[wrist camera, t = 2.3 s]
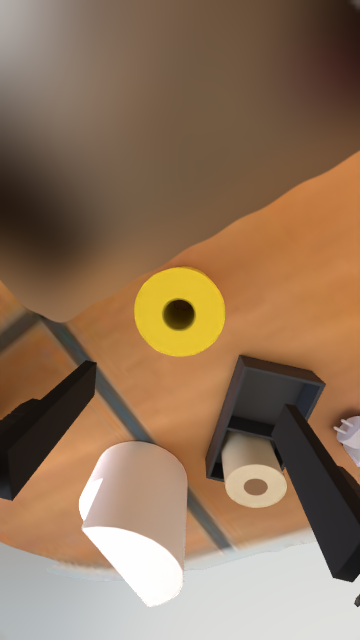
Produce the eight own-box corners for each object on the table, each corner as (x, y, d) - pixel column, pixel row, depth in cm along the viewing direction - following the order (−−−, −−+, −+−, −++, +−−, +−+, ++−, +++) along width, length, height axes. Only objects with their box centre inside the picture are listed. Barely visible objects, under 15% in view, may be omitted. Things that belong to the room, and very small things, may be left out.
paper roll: (214, 458, 38) (218, 500, 31) (227, 421, 36) (234, 458, 29) (260, 468, 38) (274, 513, 31) (277, 432, 35) (296, 473, 29)
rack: (205, 459, 39) (206, 478, 36) (239, 354, 32) (244, 365, 29) (265, 473, 39) (271, 493, 36) (312, 371, 32) (326, 383, 29)
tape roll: (177, 341, 32) (170, 371, 23) (139, 292, 31) (115, 305, 22) (229, 306, 30) (243, 325, 21) (191, 252, 28) (188, 247, 19)
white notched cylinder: (79, 456, 42) (27, 541, 29) (160, 429, 38) (142, 513, 25) (125, 517, 46) (98, 613, 33) (202, 498, 42) (205, 599, 30)
